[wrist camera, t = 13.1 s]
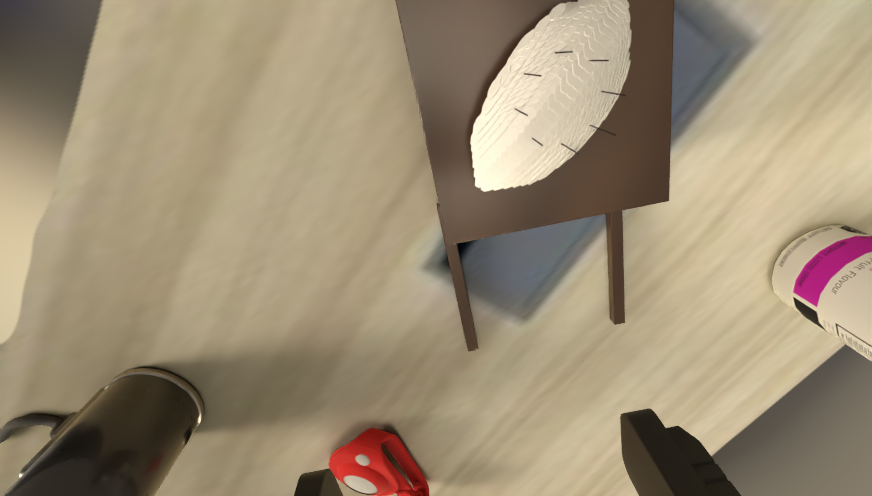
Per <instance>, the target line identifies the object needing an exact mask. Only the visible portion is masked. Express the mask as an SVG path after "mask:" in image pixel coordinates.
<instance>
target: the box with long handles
mask: <svg viewBox="0 0 872 496" xmlns="http://www.w3.org/2000/svg"><path fill="white" fill-rule="evenodd" d="M627 1H628V3H629V8H628V10H629V13H630V22H629V23H630V29H631V44H630V48H629V51H628V53H629V52H630V56H629V60H631V61H630V66H629V70H628V74H627V77H626V80H625V82H624V84H623V87H622V89H621V92H620V94H624V95H626V96H621V95H619V97H618V99H617V100H616V102H615V103H614V105H613V107H612V109H611V110H610V112H609V114H608V115H607V117H606V119H605V120H603V121H602V123H601V125H600V126H599V128H600V129H603V130H606V131H608V132H611V133H613V134H616V136H614V135H612V134H609V133H607V132H604V131H602V130H599V129H596V131H595V132H594V134H593V135H592V136H591V137H590V138H589V139H588V140H587V141H586V143H585V144H584V145H583V146H582V147H581V148H580V149H579V150H578V151H577V153H579V155H578V154H576V153H575V154H574V155H573V156H572V157H571V158H570V159H568V160H566V161H565V162H564V163H563V164H562V165H561V166H560V167H558V168H557V169H554V171H553V172H552V173H550V174H549V175H548V176H547V177H545V178H543V179H541V180H540V181H539V180H537V181H536V182H534V183H532V184H531V185H528V184H526V185H524V186H521V185H520V186H517V187H515V188H514V187H510V188H507V189H504V188H502V189H499V190H496V191H494V190H493V189H492V190H490V191H486V192H484V191H482V190H481V188H478V187H476V186H475V179H476V178H475V177H474V168H473V167H472V166H473V159H472V151H471V144H470V142H471V135H472V133H473V125H474V123H475V121H476V119H477V117H478V116H479V115H480V114H481V112H482V106H483V104H484V102H485V99H486V98H487V94H488V90H489V88H490V86H491V84H492V82H493V81H494V80H495V79H496V77H497V75H498V74H499V73H500V71H501V70H502V68H503V67H504V66H505V65H506V63H507V60H508V58H509V57H510V56H511V54H512V52H513V51H514V49H515V48H516V47H517V45H518V43H519V42H520V41H521V39H522V38H523V37H524V36H525V35H526V34H527V33H528V32H530V31H531V30H532V29H535V27H536V25H537V24H538V22H539V21H540V20H542V19H543V18H544V17H545V16H547V15H549V14H550V12H551V11H552V9H553V8H554V7H556V6H557V5H559V4H560V3H567V2H572V3H573V2H578V0H396V4H397V9H398V14H399V18H400V23H401V28H402V32H403V37H404V42H405V46H406V51H407V56H408V60H409V65H410V70H411V74H412V79H413V84H414V88H415V93H416V98H417V102H418V107H419V112H420V116H421V121H422V126H423V131H424V135H425V140H426V145H427V149H428V154H429V159H430V163H431V168H432V173H433V177H434V182H435V187H436V191H437V196H438V201H439V203H437V209H438V214H439V218H440V223H441V228H442V232H443V237H444V241H445V246H446V251H447V255H448V260H449V264H450V269H451V274H452V278H453V283H454V287H455V292H456V297H457V301H458V306H459V310H460V315H461V320H462V324H463V329H464V333H465V338H466V343H467V347H468V351H474V350H478V344H477V339H476V334H475V329H474V324H473V319H472V314H471V309H470V304H469V300H468V295H467V290H466V285H465V280H464V275H463V270H462V265H461V260H460V255H459V251H458V246H457V243H461V242H466V241H471V240H476V239H481V238H486V237H491V236H496V235H501V234H506V233H511V232H516V231H521V230H526V229H531V228H536V227H541V226H546V225H551V224H556V223H561V222H566V221H571V220H576V219H581V218H586V217H591V216H596V215H601V214H606V218H607V243H608V268H609V293H610V319H611V320H612V322H613V323H614V324H615V325H616V324H621V323H625V309H624V266H623V222H622V210H626V209H631V208H636V207H641V206H646V205H651V204H656V203H661V202H666V201H669V179H670V140H671V101H672V63H673V24H674V0H627ZM628 62H629V61H628ZM616 97H617V96H616ZM614 98H615V97H614ZM613 101H614V99H613ZM612 103H613V102H612ZM611 105H612V104H611ZM609 106H610V105H609ZM608 108H609V107H608ZM607 111H608V110H607ZM594 130H595V129H594Z"/></svg>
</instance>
